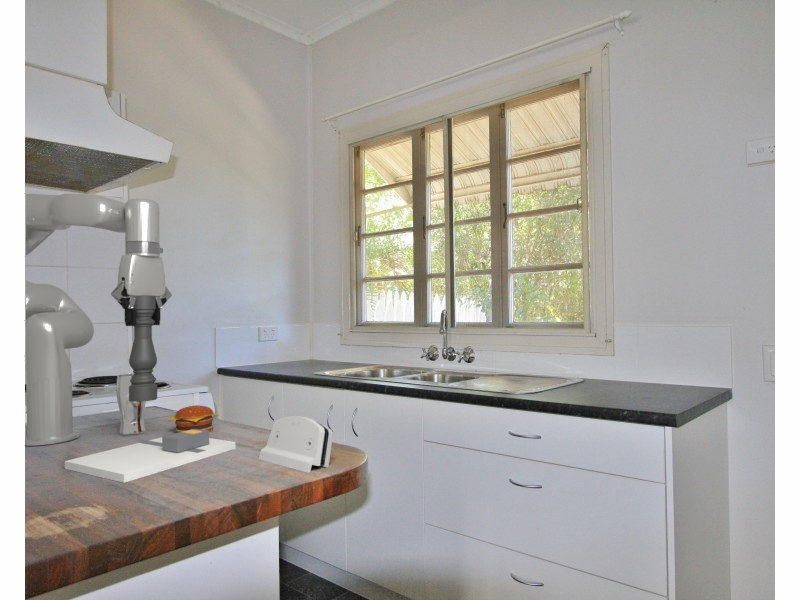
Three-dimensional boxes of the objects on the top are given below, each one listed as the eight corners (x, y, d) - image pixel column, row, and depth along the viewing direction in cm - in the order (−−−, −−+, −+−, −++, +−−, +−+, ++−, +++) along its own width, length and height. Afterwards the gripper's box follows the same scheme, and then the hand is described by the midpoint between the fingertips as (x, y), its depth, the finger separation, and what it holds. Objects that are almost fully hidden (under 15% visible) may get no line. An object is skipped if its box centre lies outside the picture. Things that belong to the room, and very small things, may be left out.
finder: (162, 449, 114) (162, 435, 114) (194, 441, 121) (194, 428, 121) (177, 452, 111) (177, 438, 111) (209, 443, 118) (209, 430, 118)
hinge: (257, 458, 111) (269, 410, 114) (275, 461, 115) (287, 414, 117) (309, 473, 100) (321, 419, 103) (327, 475, 104) (339, 423, 106)
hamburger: (166, 435, 136) (165, 408, 136) (192, 427, 145) (191, 402, 145) (197, 436, 133) (197, 409, 133) (221, 428, 142) (221, 403, 142)
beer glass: (135, 436, 135) (134, 376, 135) (111, 435, 137) (110, 376, 137) (153, 429, 142) (152, 372, 142) (130, 429, 143) (129, 373, 144)
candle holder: (151, 396, 134) (151, 296, 135) (161, 399, 130) (160, 295, 130) (125, 399, 130) (124, 296, 130) (134, 402, 126) (133, 295, 126)
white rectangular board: (64, 468, 108) (64, 460, 108) (177, 439, 130) (177, 433, 130) (124, 482, 98) (123, 473, 98) (235, 448, 120) (235, 441, 120)
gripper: (164, 254, 140) (164, 324, 140) (98, 248, 125) (98, 326, 125) (183, 252, 136) (183, 324, 136) (117, 246, 121) (117, 327, 121)
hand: (142, 324), depth 130 cm, fingers closed on candle holder, 5 cm apart
